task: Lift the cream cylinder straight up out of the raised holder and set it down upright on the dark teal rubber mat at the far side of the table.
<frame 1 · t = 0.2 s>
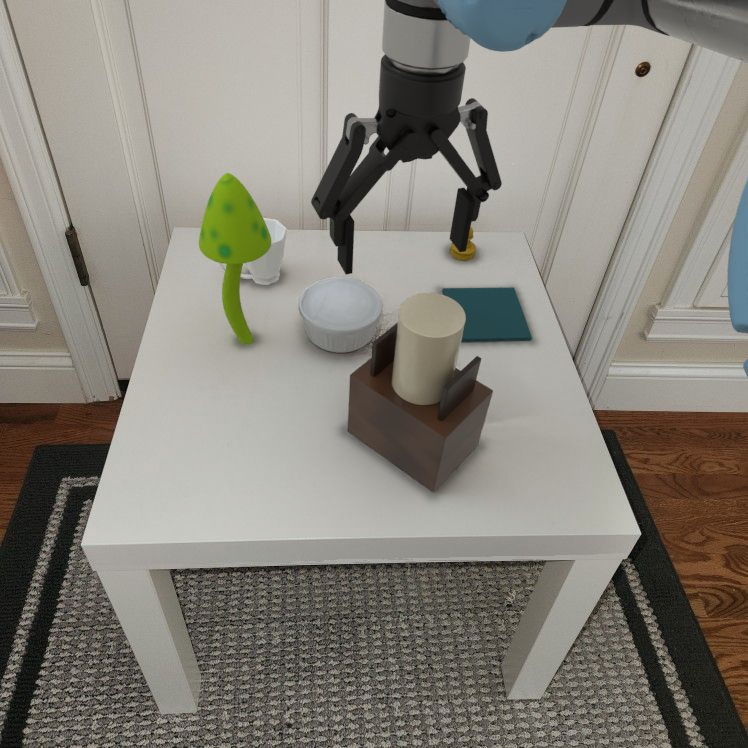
hand: (402, 255, 73), 19 cm above the table, tool pointing down, fingers open, 13 cm apart
ramekin: (340, 331, 92), on the table
mushroom: (246, 340, 89), on the table
chess piece: (462, 254, 106), on the table
cream cylinder: (421, 382, 72), point 10 cm above the table, touching holder
mat: (485, 315, 95), on the table
cup: (255, 278, 99), on the table
holder: (412, 438, 79), on the table
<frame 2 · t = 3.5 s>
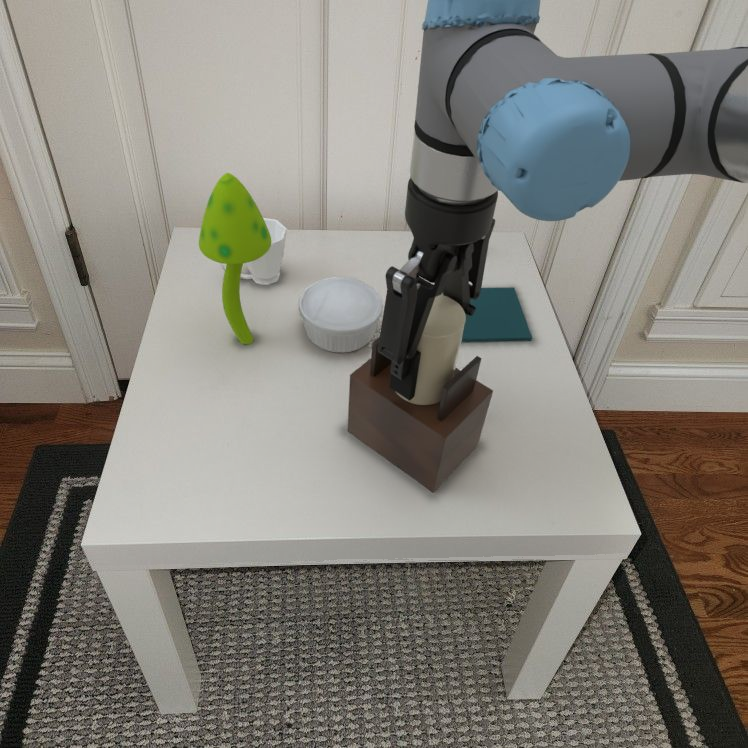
hand: (423, 373, 71), 11 cm above the table, tool pointing down, fingers closed on cream cylinder, 7 cm apart
cream cylinder: (421, 382, 72), point 10 cm above the table, touching holder, gripper
everything else where it was.
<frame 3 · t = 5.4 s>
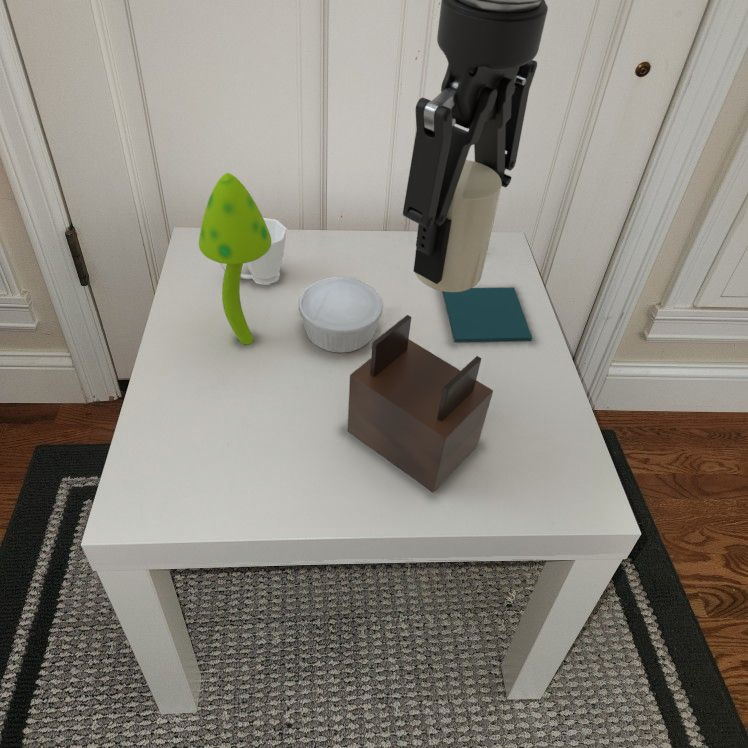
hand: (450, 258, 63), 25 cm above the table, tool pointing down, fingers closed on cream cylinder, 7 cm apart
cream cylinder: (447, 270, 64), point 23 cm above the table, touching gripper
everything else where it was.
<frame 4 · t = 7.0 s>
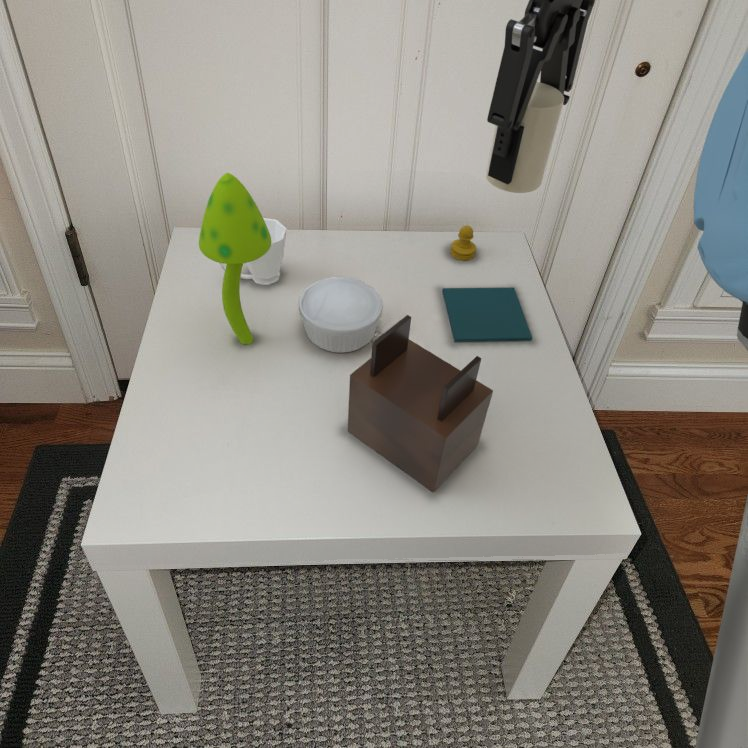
hand: (516, 166, 76), 24 cm above the table, tool pointing down, fingers closed on cream cylinder, 7 cm apart
cream cylinder: (513, 177, 77), point 23 cm above the table, touching gripper
everything else where it was.
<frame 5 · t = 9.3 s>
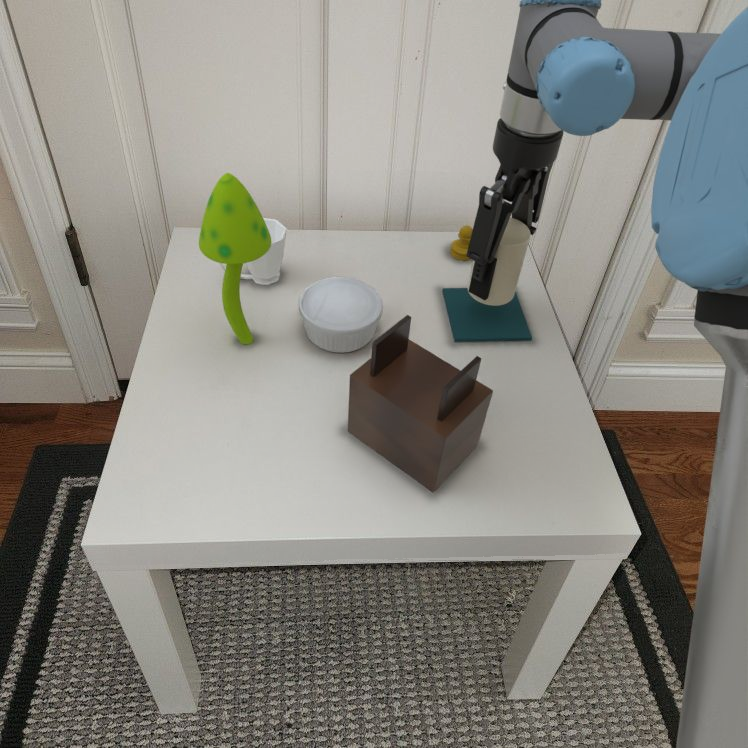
hand: (493, 282, 91), 6 cm above the table, tool pointing down, fingers closed on cream cylinder, 7 cm apart
cream cylinder: (490, 290, 92), point 5 cm above the table, touching gripper
everything else where it was.
when the fingers open (2 cm above the table, at t = 10.9 s): cream cylinder stays where it is, resting on mat.
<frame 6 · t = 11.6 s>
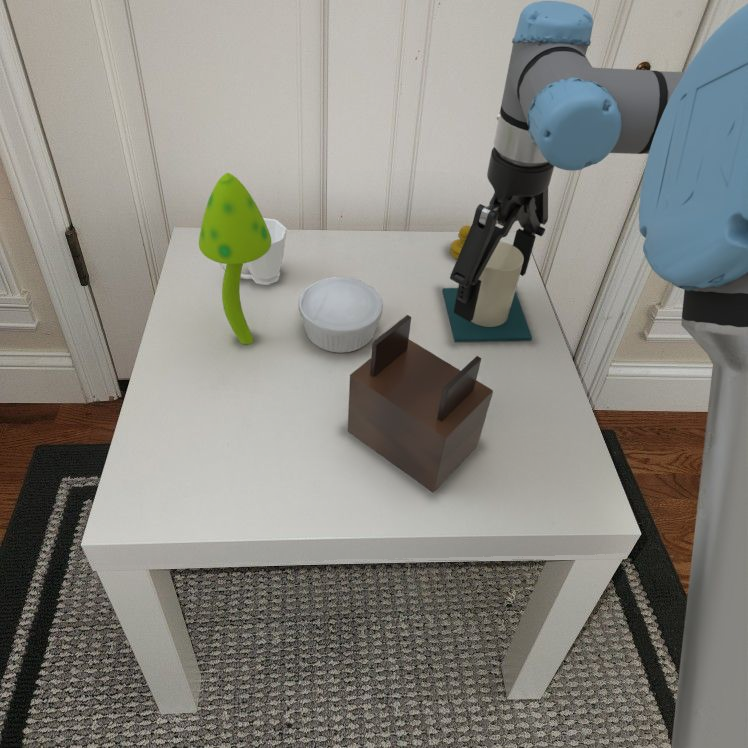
hand: (490, 292, 92), 4 cm above the table, tool pointing down, fingers open, 13 cm apart
cream cylinder: (485, 311, 95), point 1 cm above the table, touching mat
everything else where it was.
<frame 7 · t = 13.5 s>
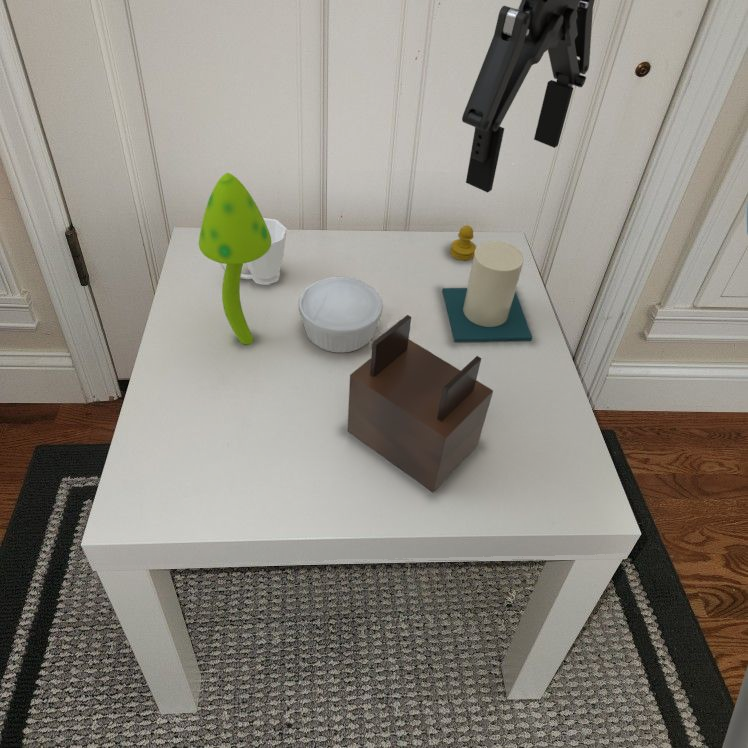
hand: (513, 163, 71), 27 cm above the table, tool pointing down, fingers open, 13 cm apart
nothing on the table moved.
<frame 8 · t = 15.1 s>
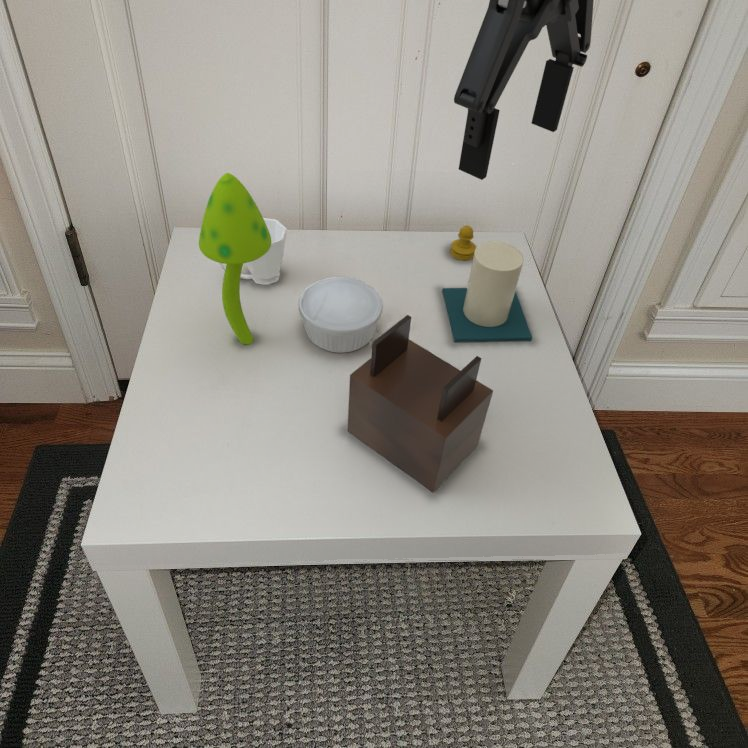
hand: (510, 149, 66), 31 cm above the table, tool pointing down, fingers open, 13 cm apart
nothing on the table moved.
at the end: cream cylinder inside the target area on the mat (0.1 cm from its centre), point 0.6 cm above the mat's base; cream cylinder tilted 0°; the gripper is holding nothing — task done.
